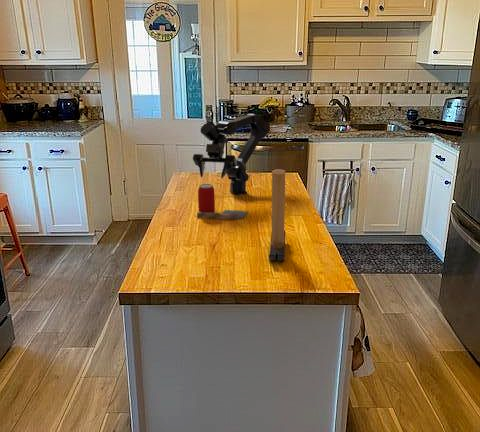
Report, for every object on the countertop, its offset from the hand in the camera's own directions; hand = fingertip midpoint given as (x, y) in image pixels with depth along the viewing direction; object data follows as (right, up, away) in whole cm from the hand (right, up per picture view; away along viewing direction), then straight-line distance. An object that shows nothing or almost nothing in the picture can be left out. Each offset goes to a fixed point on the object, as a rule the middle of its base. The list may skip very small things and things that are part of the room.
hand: (211, 177), depth 203 cm
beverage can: (-2, -15, -4) cm, 16 cm away
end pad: (+10, -16, -6) cm, 20 cm away
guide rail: (+3, -17, -10) cm, 20 cm away
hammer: (+25, -29, -43) cm, 57 cm away
